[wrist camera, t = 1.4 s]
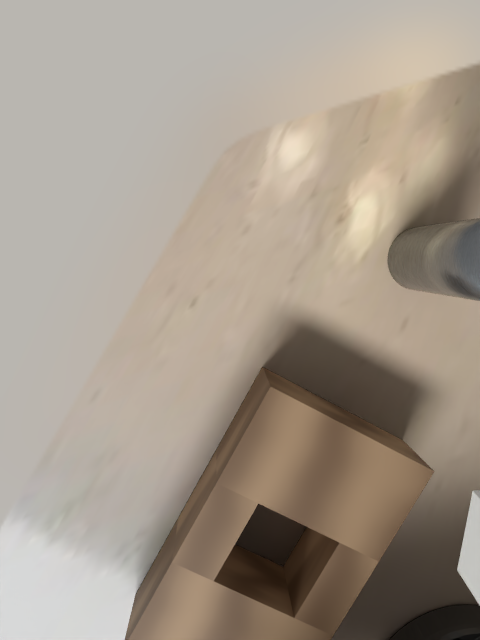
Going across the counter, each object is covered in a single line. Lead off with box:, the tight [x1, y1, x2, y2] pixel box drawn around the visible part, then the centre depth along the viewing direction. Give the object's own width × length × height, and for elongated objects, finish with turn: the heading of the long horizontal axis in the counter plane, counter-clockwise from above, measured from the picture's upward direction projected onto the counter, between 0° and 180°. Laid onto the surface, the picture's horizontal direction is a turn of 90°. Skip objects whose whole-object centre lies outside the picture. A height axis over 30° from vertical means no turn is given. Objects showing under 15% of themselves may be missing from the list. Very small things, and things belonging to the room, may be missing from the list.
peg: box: [388, 218, 480, 301], centre depth 25 cm, size 4×4×14 cm
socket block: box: [125, 367, 434, 640], centre depth 32 cm, size 12×20×5 cm, turn 151°
